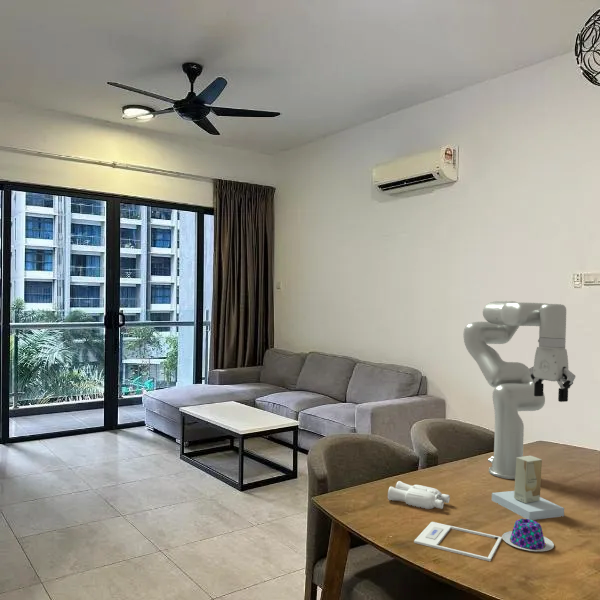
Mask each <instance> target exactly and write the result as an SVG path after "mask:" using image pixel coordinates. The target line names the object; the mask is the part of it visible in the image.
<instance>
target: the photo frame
mask: <svg viewBox="0 0 600 600" xmlns="http://www.w3.org/2000/svg"><path fill="white" fill-rule="evenodd" d="M451 530H455V531H460V532H463V533H469V534H472V535H473V534H474V535H478V536H482V537H487V538H491V539H496V541H495V543H494V546H493V547H492V549H491V551H490V552H489V554H488V556H483V555H479V554H476V553H471V552H467V551H463V550H458V549H454V548H452V547H451V548H450V547H446V546H443V545H439V544H440V543H441V542H442V541H443V540H444V538H445V537H446V535H447V534H448V533H449V532H450V531H451ZM502 540H503V538H502V536H499V535H495V534H490V533H485V532H481V531H476V530H471V529H467V528H462V527H457V526H453V525H449V524H443V523H440V522H436V521H431V522H430V523H429V524H428V525H427V526H426V527H425V528H424V529H423V530H422V532H421V533H419V535H418V536H417V537H416V538H415V539H414V540H413V543H414V544H418V545H421V546H427V547H429V548H433V549H436V550H437V549H438V550H442V551H446V552H451V553H454V554H458V555H463V556H466V557H469V558H470V557H471V558H475V559H477V560H478V559H479V560H482V561H487V562H491V561H492V559H493V556H494V555H495V554H496V551H497V550H498V547H499V545H500V544H501V542H502Z"/></svg>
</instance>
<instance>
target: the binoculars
mask: <svg viewBox="0 0 600 600" xmlns="http://www.w3.org/2000/svg"><path fill="white" fill-rule="evenodd" d="M450 499H451V495H450V494H445V493H442V492H441V491H440V490H438V489H437V488H434V487H430V486H425V485H420V484H414V485H412V484H408V483H405V482H403V481H401V480H398V481H397V482H396V484H395V487H394V486H389V488H388V491H387V500H388V501H390V500H392V501H398V502H405V504H406V505H407V504H408V505H407V506H411V505H412V506H411V507H415V506H416V508H420V507H421V508H420V509H424V508H425V510H431V509H434V508H437V509H441V510H442V509H443V508H444V504H445V503H446V504H449V502H450Z"/></svg>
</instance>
